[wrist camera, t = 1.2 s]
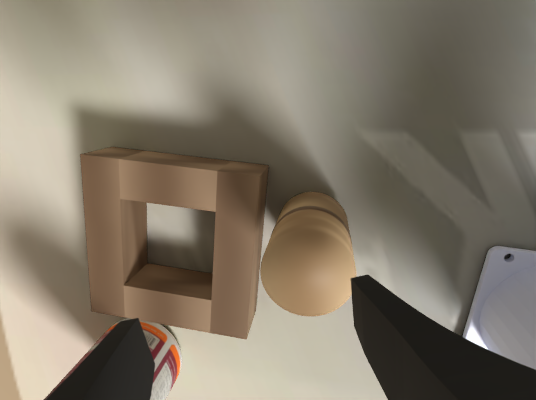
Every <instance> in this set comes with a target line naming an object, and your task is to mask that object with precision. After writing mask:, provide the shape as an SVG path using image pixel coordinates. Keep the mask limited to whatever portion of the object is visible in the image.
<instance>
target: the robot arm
mask: <svg viewBox="0 0 536 400" xmlns="http://www.w3.org/2000/svg"><path fill="white" fill-rule="evenodd" d="M507 254H511V256H510V258H508V259H504V257H505V255H507ZM350 279H351V291H352V304H353V316H354V327H355V329H356V332H357V335H358V338H359V340H360V343H361V346H362V348H363V351H364V353H365V355H366V357H367V359H368V361H369V363H370V365H371V367H372V369H373V371H374V373H375V375H376V377H377V379H378V381H379V383H380V385H381V387H382V389H383V391H384V393H385V395H386V397H387V398H388V400H536V251H532V250H525V249H518V248H510V247H503V246H495V247H492V248H491V249H489V251H488V253H487V256H486V259H485V263H484V266H483V269H482V273H481V276H480V279H479V283H478V286H477V289H476V293H475V296H474V299H473V303H472V306H471V310H470V313H469V316H468V320H467V323H466V326H465V330H464V333H463V336H462V337H461V336H460V335H458V334H456V333H454V332H452V331H450V330H448V329H447V328H445V327H443V326H441V325H440V324H438V323H437V322H435V321H433V320H432V319H430V318H428V317H427V316H425V315H424V314H422V313H420V312H419V311H417V310H416V309H415V308H413V307H412V306H410V305H409V304H407V303H406V302H404V301H403V300H402V299H400V298H399V297H397V296H396V295H395V294H393V293H392V292H391V291H389V290H388V289H387V288H385V287H384V286H383V285H381V284H380V283H379V282H377V281H376V280H375V279H373V278H372V277H370V276H369V275H364V276H359V277H354V278H350ZM154 370H155V362H154V359H153V357H152V354H151V351H150V348H149V346H148V343H147V340H146V337H145V335H144V332H143V329H142V326H141V324H140V321H139V318H135V319H129V320H124V321H120V322H119V323H118V324H117V325H116V326H115V327H114V328H113V329H112V330H111V331H110V332H109V333H108V334H107V335H106V337H105V338H104V339H103V340H102V341H101V342H100V343H99V344H98V345H97V346H96V348H95V349H94V350H93V351H92V352H91V353H90V354H89V355H88V356H87V357H86V358H85V360H84V361H83V362H82V363H81V364H80V365H79V366H78V367H77V368H76V369H75V370H74V371H73V372H72V373H71V374H70V375H69V376H68V377H67V378H66V379H65V380H64V381H63V382H62V383H61V384H60V385H59V386H58V387H57V388H56V389H55V390H54V391H53V392H52V393H51V395H50V396H49V397H48V398H47V399H46V400H150V397H151V392H152V385H153V378H154Z"/></svg>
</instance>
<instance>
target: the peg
mask: <svg viewBox="0 0 536 400" xmlns="http://www.w3.org/2000/svg"><path fill="white" fill-rule="evenodd" d="M260 273H261V280H262V284H263V286H264V288H265V290H266V292H267V294H268V295H269V296H270V298H271V299H272V300H273V301H274V302H275V303H276V304H277V305H279V306H280V307H282V308H283V309H285V310H287V311H289V312H291V313H294V314H297V315H302V316H320V315H324V314H327V313H330V312H332V311H334V310H336V309H338V308H339V307H341V306H342V305H343V304H344V303H345V302H346V301H347V300H348V299H349V297H350V296H351V294H352V291H351V279H350V278H354V277H356V267H355V261H354V256H353V250H352V242H351V236H350V232H349V227H348V221H347V216H346V213H345V211H344V209H343V208H342V206H341V205H340V204H339V203H338V202H337V201H336V200H335V199H334V198H332V197H330V196H328V195H326V194H323V193H319V192H306V193H301V194H299V195H296V196H294V197H293V198H291V199H290V200H289V201H288V202H287V203H286V204H285V205H284V207H283V208H282V210H281V212H280V215H279V217H278V220H277V223H276V225H275V227H274V229H273V232H272V235H271V238H270V240H269V243H268V246H267V248H266V251H265V253H264V256H263V259H262V262H261V270H260Z"/></svg>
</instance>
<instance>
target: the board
mask: <svg viewBox="0 0 536 400" xmlns="http://www.w3.org/2000/svg"><path fill="white" fill-rule="evenodd" d="M80 157H81V171H82V185H83V199H84V213H85V227H86V241H87V255H88V269H89V284H90V298H91V311H92V312H98V313H103V314H109V315H114V316H120V317H125V318H131V319H135V318H139V320H142V321H147V322H153V323H159V324H164V325H170V326H175V327H181V328H186V329H192V330H197V331H203V332H208V333H214V334H219V335H225V336H230V337H236V338H242V339H247V336H248V333H249V330H250V327H251V324H252V321H253V318H254V315H255V311H256V303H257V292H258V281H259V270H260V258H261V247H262V236H263V225H264V214H265V202H266V191H267V180H268V169H269V165H262V164H253V163H245V162H236V161H228V160H219V159H211V158H202V157H194V156H185V155H177V154H168V153H160V152H151V151H143V150H134V149H126V148H117V147H109V148H105V149H101V150H97V151H92V152H88V153H84V154H80ZM146 202H147V203H155V204H162V205H169V206H177V207H184V208H191V209H199V210H206V211H213V212H215V234H214V256H213V274H212V273H206V272H199V271H193V270H187V269H180V268H174V267H168V266H162V265H155V264H149V263H147V205H146Z"/></svg>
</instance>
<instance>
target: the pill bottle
mask: <svg viewBox="0 0 536 400" xmlns="http://www.w3.org/2000/svg"><path fill="white" fill-rule="evenodd" d="M129 319H131V318H127V319H123V320H121V321H124V320H129ZM139 321H140V324H141V326H142V329H143V332H144V335H145V337H146V340H147V343H148V346H149V348H150V351H151V354H152V357H153V359H154V362H155V370H154V378H153V385H152V392H151V397H150V400H166V398H167V396H168V394H169V392H170V390H171V388H172V386H173V384H174V383H175V381H176V379H177V377H178V375H179V372H180V369H181V365H182V355H181V350H180V347H179V345H178V343H177V341H176V339H175V338H174V336H173V335H172V334H171V333H170V332H169V331H168V330H167V329H166V328H165V327H163V326H162V325H160V324H159V323H153V322H147V321H142V320H139ZM119 322H120V321H118V322H117V323H115V324H114V325H112V326H111V327H110V328H109V329H108V330H107V331H106V332H105V333H104V335H103V336H102V337H101V338H100V339H99V340H98V341H97V342H96V343H95V344H94V345H93V347H92V348H91V349H90V350H89V351H88V352H87V353H86V354H85V355H84V356H83V358H82V359H81V360H80V361H79V362H78V363H77V364H76V365H75V366H74V367H73V369H72V370H71V371H70V372H69V373H68V374H67V375H66V376H65V377H64V378H63V379H62V380H61V382H60V383H59V384H58V385H57V386H56V387H55V388H54V389H53V390H52V391H51V393H52V392H53V391H54V390H55V389H56V388H57V387H58V386H59V385H60V384H61V383H62V382H63V381H64V380H65V379H66V378H67V377H68V376H69V375H70V374H71V373H72V372H73V371H74V370H75V369H76V368H77V367H78V366H79V365H80V364H81V363H82V362H83V361H84V360H85V358H86V357H87V356H88V355H89V354H90V353H91V352H92V351H93V350H94V349H95V348H96V346H97V345H98V344H99V343H100V342H101V341H102V340H103V339H104V338H105V337H106V335H107V334H108V333H109V332H110V331H111V330H112V329H113V328H114V327H115V326H116V325H117V324H118V323H119ZM51 393H50V394H49V395H48V396H47V397H46V398H45V399H44V400H46V399H47V398H48V397H49V396H50V395H51Z"/></svg>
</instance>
